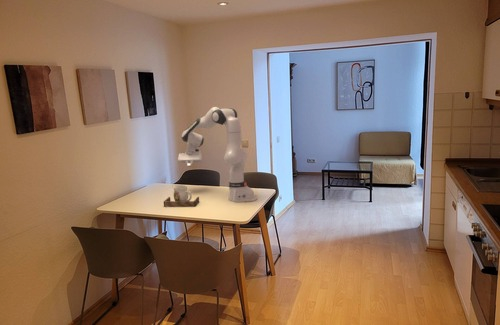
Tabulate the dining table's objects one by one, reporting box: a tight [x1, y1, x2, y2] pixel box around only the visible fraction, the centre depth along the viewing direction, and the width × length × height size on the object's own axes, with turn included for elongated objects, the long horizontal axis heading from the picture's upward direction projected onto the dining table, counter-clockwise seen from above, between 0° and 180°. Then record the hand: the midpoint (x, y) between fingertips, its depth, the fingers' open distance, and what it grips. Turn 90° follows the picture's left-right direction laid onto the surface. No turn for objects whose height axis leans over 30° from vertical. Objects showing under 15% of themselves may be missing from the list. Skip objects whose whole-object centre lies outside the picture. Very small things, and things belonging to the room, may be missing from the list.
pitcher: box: [171, 184, 192, 201], centre depth 290 cm, size 11×18×14 cm, turn 60°
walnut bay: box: [163, 196, 200, 208], centre depth 291 cm, size 24×13×4 cm, turn 84°
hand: (188, 166), depth 312 cm, fingers closed
